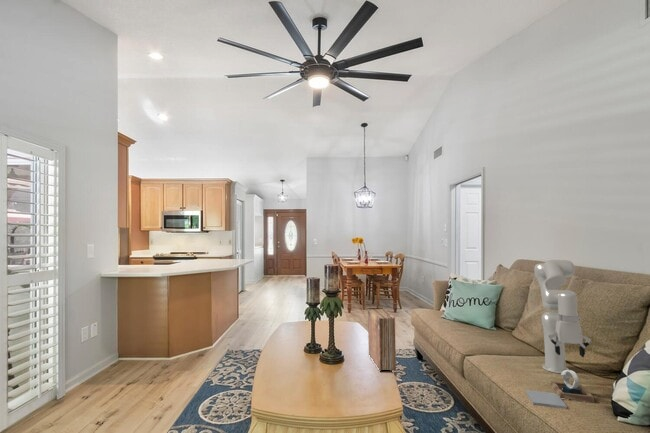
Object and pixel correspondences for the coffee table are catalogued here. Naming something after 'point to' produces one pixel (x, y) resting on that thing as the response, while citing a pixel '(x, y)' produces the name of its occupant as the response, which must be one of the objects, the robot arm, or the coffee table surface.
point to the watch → (569, 388)
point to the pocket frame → (585, 397)
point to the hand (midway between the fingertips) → (569, 355)
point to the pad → (545, 399)
